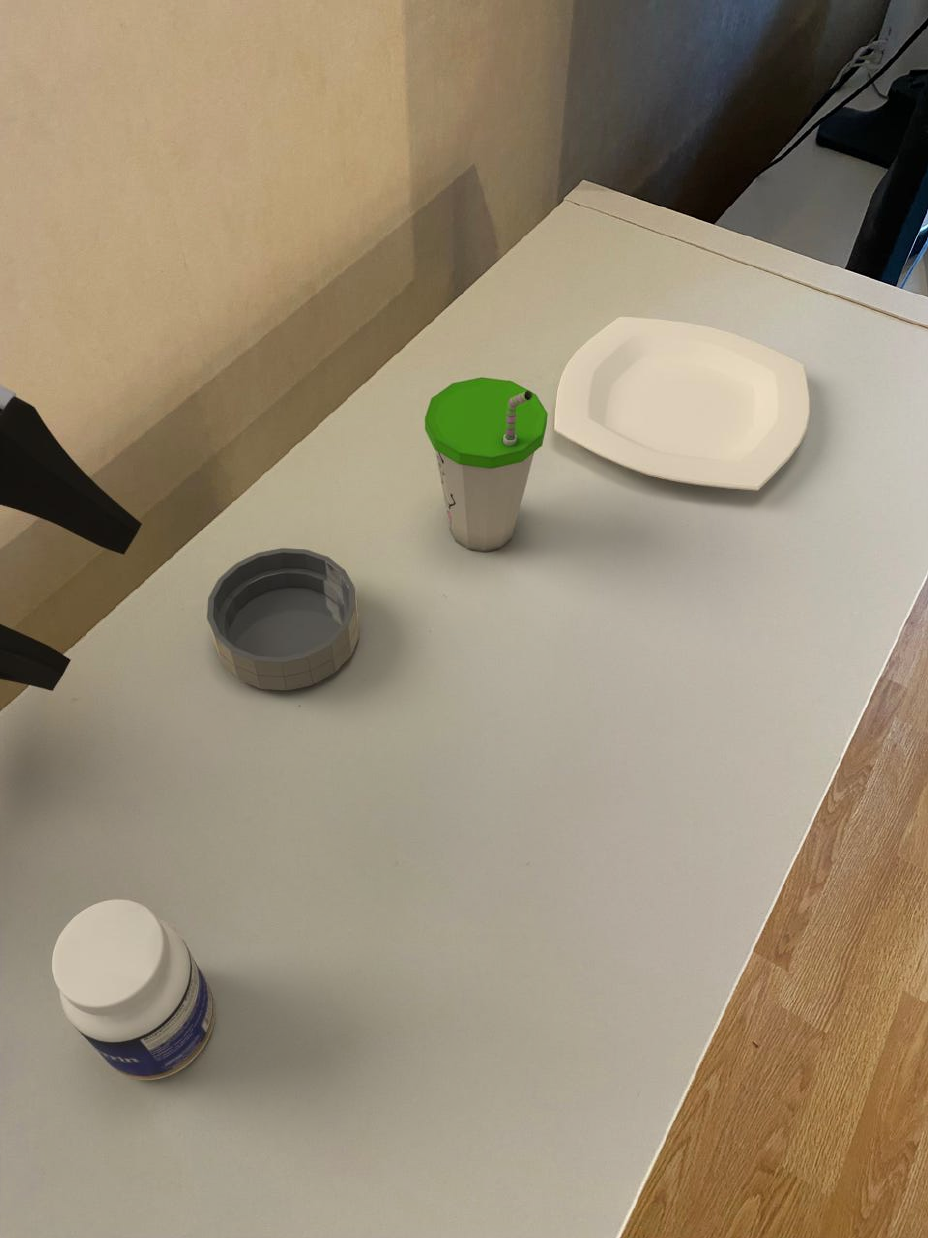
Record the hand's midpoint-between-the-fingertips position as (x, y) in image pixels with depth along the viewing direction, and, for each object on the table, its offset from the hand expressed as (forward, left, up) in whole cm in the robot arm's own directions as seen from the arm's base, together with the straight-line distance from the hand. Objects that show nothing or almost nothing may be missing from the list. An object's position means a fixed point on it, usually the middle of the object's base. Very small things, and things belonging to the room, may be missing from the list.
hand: (99, 604), depth 44 cm
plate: (+37, +31, -19) cm, 52 cm away
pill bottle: (0, -12, -19) cm, 22 cm away
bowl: (+6, +12, -18) cm, 23 cm away
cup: (+20, +20, -19) cm, 34 cm away
